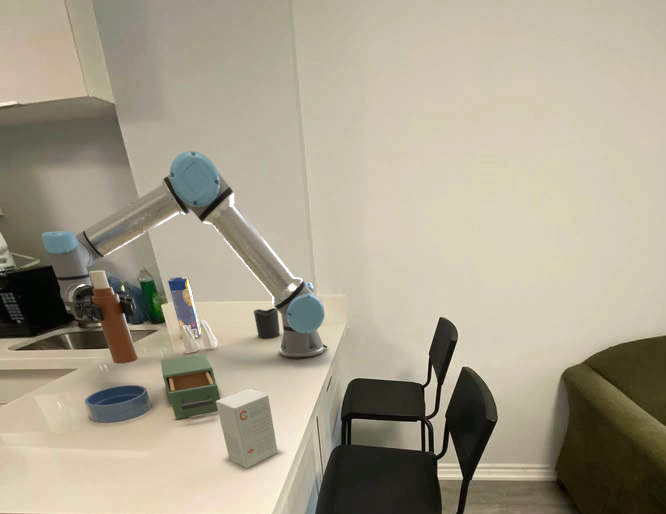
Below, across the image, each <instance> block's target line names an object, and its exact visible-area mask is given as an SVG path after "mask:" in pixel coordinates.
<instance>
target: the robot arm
mask: <svg viewBox="0 0 666 514" xmlns="http://www.w3.org/2000/svg"><path fill="white" fill-rule="evenodd" d="M161 180H162V181H161V185H159V186H157V187H156V188H154V189H152V190H151V191H149V192H147V193H145V194H144V195H142V196H140V197H139V198H137V199H135V200H134V201H132V202H131V203H129V204H127V205H125V206H124V207H122V208H120V209H119V210H116V211H115V212H113V213H112V214H110V215H108V216H107V217H105V218H103V219H102V220H100V221H98V222H96V223H94V224H93V225H92V226H90V227H88V228H86V229H85V230H83V231H81V232H79V233H78V234H75V233H74V231H71V230H61V231H46V232H42V234H41V239H42V243H43V245H44V250H45V252H46V253H47V256H48V259H49V261H50V264H51V266H52V269H53V272H54V274H55V277H56V281H57V283H58V285H59V289H60V291H59V293H60V297H61V299H62V301H63V305H64V307H65V310H66V312H67V314H71V315H73V316H75V317H76V318H77V319H83V318H84V316H86V318H87V320H88V321H94V320H95V319H97V320H98V321H99V320H100V321H104V320H105V319H104V316H103V313H102V310H101V307H98V306H96V305H94V303H93V300H92V298H91V297H92V296H94V293H93V290H92V289H94V285H93V282H92V279H91V276H90V273H89V272H88V269H87V268H89V267H92V266H93V265H95V264H96V263H97V262H98V261H100V260H102V259H104V258H105V257H106V256H108V255H110V254H112V253H113V252H115V251H117V250H119V249H120V248H122V247H124V246H125V245H127V244H129V243H130V242H132V241H134V240H136V239H138V238H140V237H141V236H143V235H145V234H146V233H148V232H149V231H152V230H153V229H155V228H157V227H158V226H160V225H162V224H164V223H166V222H167V221H169V220H171V219H172V218H175V216H177V215H180V214H181V215H183V216H186V215H188V214H190V213H191V212H193V214H194V215H195V216H196V217H197V218H198V219H199V221H200V222H201V223H202V224H206V225H211V227H213V228H214V229H215V231H216V232H217V233H218V234H219V235H220V237H221V238H222V240H224V241H225V243H226V244H227V245H228V246H229V247H230V248H231V249H232V251H233V253H235V254H236V255H237V257H238V258H239V259H240V260H241V261H242V262H243V263H244V265H245V266H246V267H247V268H248V269H249V271H250V272H251V273H252V274H253V275H254V277H255V278H256V279H257V280H258V281H259V282H260V283H261V285H262V286H263V287H264V288H265V290H266V291H267V292H268V293H269V294H270V296H272V305H273V307H274V308H276V309H277V310H278V313H279V314H280V315H281V316H280V317H281V324H282V336H281V341H280V342H281V343H280V348H279V351H280V355H281V356H283V357H286V358H292V359H303V358H304V359H305V358H311V357H315V356H318V355H321V354H322V353H323V352H324V351H325V349H328V346H327V345H325V344H324V343H323V341H322V338H321V335H320V334H319V333H320V332H318V329H319V328H321V326H322V325H323V323H324V320H325V308H324V305H323V303H322V300H321V299H319V297H317V296H316V295H315V293H314V292H315V288H314V286H313V283H312V282H309V281H308V282H305V281H304V280H303V279H302V278H301V277H295V276H294V275H293V274H292V273H291V271H290V270H289V268H288V267H286V265H285V264H284V263H283V261H282V260H281V259H280V258H279V256H278V255H277V254H276V253H275V251H274V250H273V249H272V248H271V247H270V245H269V244H268V243H267V241H266V240H265V239H264V237H263V236H262V234H260V232H259V231H258V230H257V228H256V227H255V226H254V225H253V224H252V222H251V221H250V220H249V218H248V217H247V216H246V214H245V213H244V212H243V211H242V210H241V208H240V207H239V206H238V205H237V203H236V202H235V192H234V190H233V189H232V187H230V186H229V184H228V183H227V181H226V180H225V179H224V177H223V176H222V175H221V173H220V172H219V171H218V169H217V167H216V165H215V164H214V162H212V160H211V159H210V158H209V157H208V156H206V155H205V154H203V153H201V152H199V151H195V150H186V151H183V152H181V153H179V154H178V155H176V156H175V158H173V160H172V162H171V164H170V168H169V175H167V176H165V177H164V178H162V179H161ZM118 296H119V299H120V303H121V306H122V309H123V312H124V315H127V316H129V317H133V316H135V315H134V311H135V310H136V309H137V307H136V303H135V301H134V298H133V297H130V296H127V295H124V294H122V293H119V294H118ZM100 321H99V322H100ZM324 348H325V349H324Z"/></svg>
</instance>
